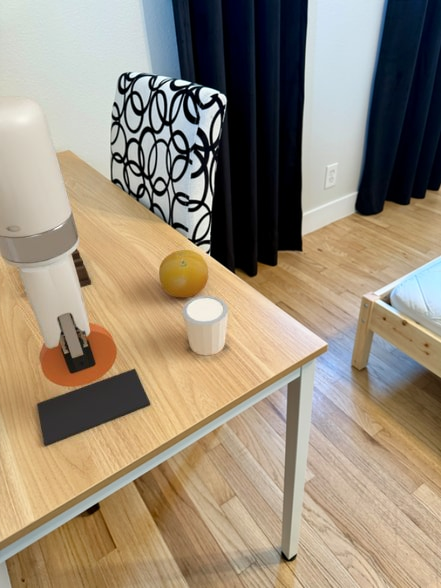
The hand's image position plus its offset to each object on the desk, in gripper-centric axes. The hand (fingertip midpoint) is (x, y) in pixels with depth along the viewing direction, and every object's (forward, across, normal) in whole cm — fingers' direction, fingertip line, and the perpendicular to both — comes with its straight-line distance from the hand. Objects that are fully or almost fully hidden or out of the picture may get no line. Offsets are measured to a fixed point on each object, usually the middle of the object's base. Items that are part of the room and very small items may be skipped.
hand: (80, 361), depth 54 cm
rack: (+9, -34, +1) cm, 35 cm away
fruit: (+9, -18, +21) cm, 29 cm away
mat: (+9, 0, 0) cm, 9 cm away
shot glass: (+9, -4, +19) cm, 21 cm away
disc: (+4, 0, 0) cm, 4 cm away
